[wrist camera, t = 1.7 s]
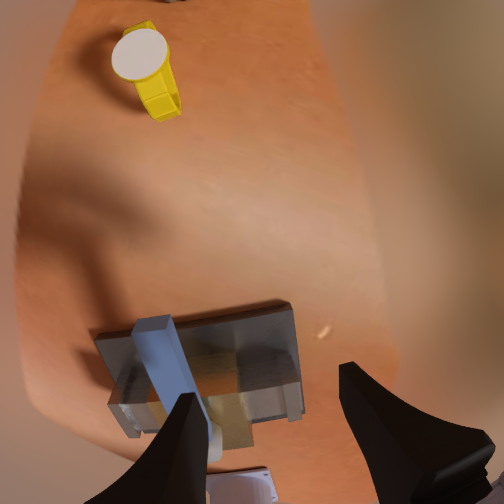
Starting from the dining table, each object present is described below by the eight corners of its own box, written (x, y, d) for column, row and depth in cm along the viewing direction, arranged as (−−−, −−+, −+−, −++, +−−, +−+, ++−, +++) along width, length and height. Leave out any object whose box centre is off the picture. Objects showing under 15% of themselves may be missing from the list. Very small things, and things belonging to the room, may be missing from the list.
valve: (303, 405, 26) (320, 467, 19) (146, 426, 26) (133, 485, 19) (290, 302, 22) (314, 365, 16) (98, 333, 22) (64, 393, 15)
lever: (226, 439, 19) (226, 461, 17) (190, 443, 19) (188, 464, 17) (179, 309, 15) (173, 330, 14) (132, 316, 15) (122, 337, 14)
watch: (134, 52, 16) (100, 16, 11) (173, 37, 16) (153, -6, 11) (155, 131, 18) (123, 116, 12) (197, 116, 18) (181, 94, 12)
